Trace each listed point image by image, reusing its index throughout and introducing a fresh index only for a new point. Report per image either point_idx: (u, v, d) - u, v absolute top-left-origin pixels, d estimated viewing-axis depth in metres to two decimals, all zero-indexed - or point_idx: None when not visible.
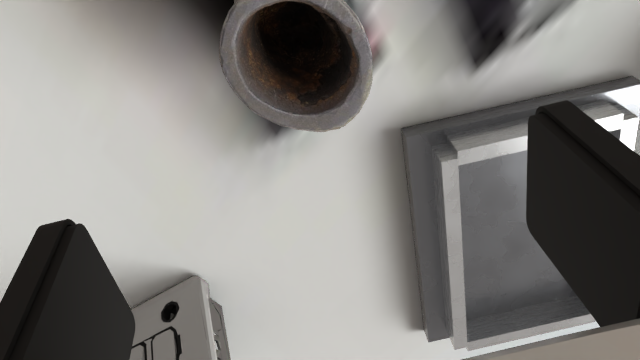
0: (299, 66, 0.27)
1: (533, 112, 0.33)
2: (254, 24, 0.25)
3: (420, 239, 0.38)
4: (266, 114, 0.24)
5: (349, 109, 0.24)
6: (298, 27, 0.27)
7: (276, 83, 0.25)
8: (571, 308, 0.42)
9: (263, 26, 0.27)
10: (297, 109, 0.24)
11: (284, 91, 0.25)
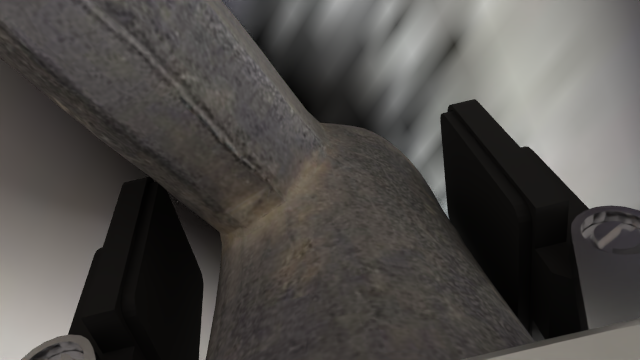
0: None
1: None
2: None
3: None
4: None
5: None
6: None
7: None
8: None
9: None
10: None
11: None
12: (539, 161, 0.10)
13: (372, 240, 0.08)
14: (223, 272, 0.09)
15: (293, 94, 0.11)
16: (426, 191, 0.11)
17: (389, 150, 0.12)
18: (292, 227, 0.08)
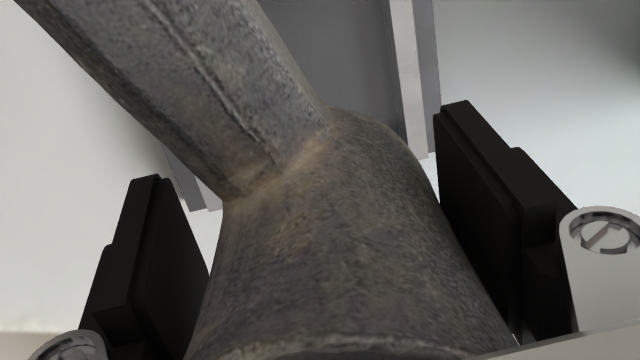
0: None
1: None
2: None
3: None
4: None
5: None
6: None
7: None
8: None
9: None
10: None
11: None
12: (530, 161, 0.10)
13: (364, 217, 0.09)
14: (221, 237, 0.10)
15: (303, 76, 0.11)
16: (422, 180, 0.12)
17: (391, 138, 0.12)
18: (290, 200, 0.09)
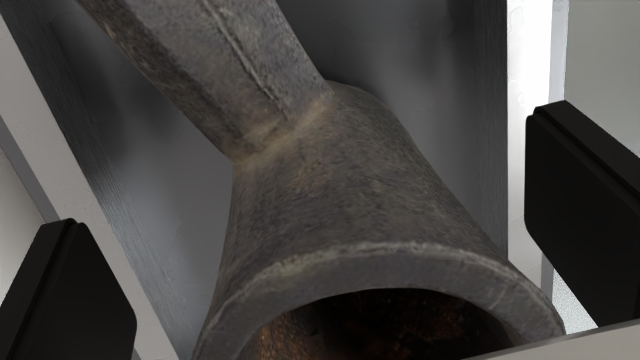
0: (358, 314, 0.13)
1: None
2: None
3: (15, 154, 0.14)
4: None
5: None
6: None
7: None
8: None
9: None
10: None
11: None
12: None
13: (372, 161, 0.10)
14: (237, 192, 0.11)
15: None
16: (414, 142, 0.13)
17: (383, 106, 0.13)
18: (304, 150, 0.10)
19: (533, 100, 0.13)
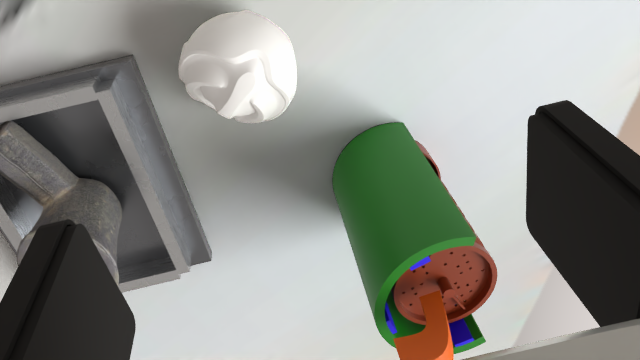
0: None
1: (34, 87, 0.38)
2: None
3: None
4: None
5: None
6: None
7: None
8: (160, 266, 0.47)
9: None
10: None
11: None
12: None
13: (68, 208, 0.38)
14: None
15: (68, 171, 0.41)
16: (104, 199, 0.41)
17: (98, 187, 0.41)
18: (53, 205, 0.38)
19: (147, 187, 0.41)
